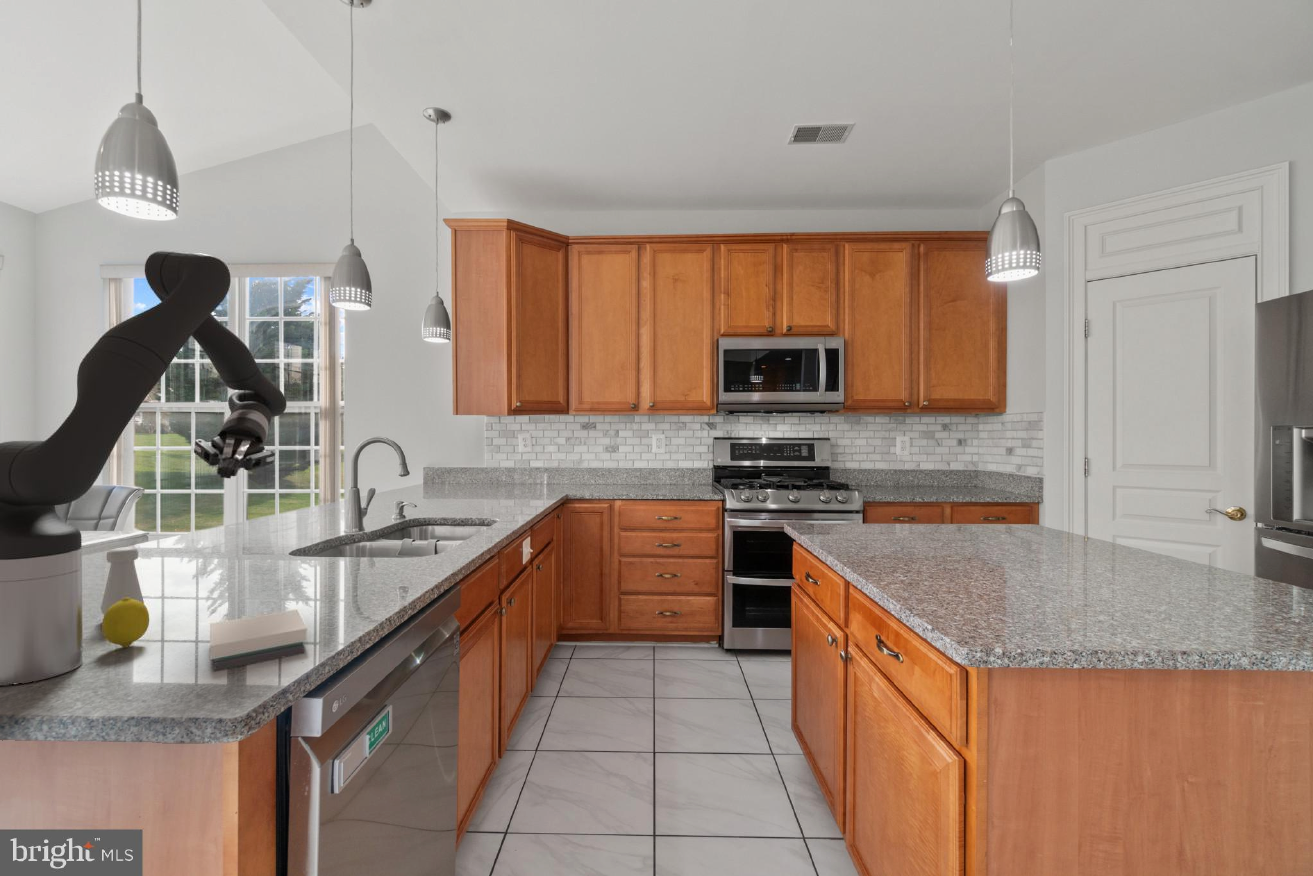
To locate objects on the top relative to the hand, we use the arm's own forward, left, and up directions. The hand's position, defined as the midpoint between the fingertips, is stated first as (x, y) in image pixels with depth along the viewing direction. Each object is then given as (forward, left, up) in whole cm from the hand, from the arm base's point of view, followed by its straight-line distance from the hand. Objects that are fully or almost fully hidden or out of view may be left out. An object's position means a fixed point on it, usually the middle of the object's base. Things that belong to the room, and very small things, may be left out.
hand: (226, 473), depth 99 cm
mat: (+4, -16, -27) cm, 32 cm away
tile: (+4, -8, -25) cm, 27 cm away
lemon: (-13, -1, -28) cm, 30 cm away
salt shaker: (-15, +18, -28) cm, 36 cm away
